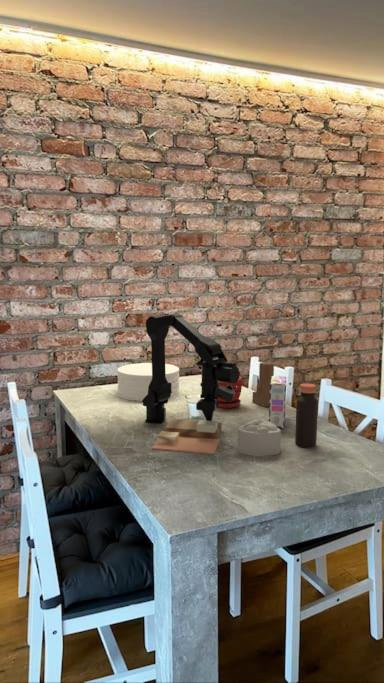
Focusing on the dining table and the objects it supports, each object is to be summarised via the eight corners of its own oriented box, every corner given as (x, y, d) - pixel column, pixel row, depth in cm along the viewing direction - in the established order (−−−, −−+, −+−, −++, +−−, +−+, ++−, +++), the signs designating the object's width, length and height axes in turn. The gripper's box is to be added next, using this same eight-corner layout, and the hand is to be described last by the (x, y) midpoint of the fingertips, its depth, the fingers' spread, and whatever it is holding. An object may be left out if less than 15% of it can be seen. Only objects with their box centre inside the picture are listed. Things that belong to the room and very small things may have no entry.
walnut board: (165, 436, 172) (165, 427, 172) (172, 426, 182) (172, 418, 181) (217, 439, 168) (217, 431, 168) (221, 430, 178) (221, 422, 178)
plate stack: (145, 383, 249) (145, 360, 248) (191, 391, 233) (191, 367, 232) (104, 394, 227) (104, 370, 225) (152, 405, 211) (152, 378, 209)
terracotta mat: (152, 449, 160) (152, 447, 160) (162, 436, 172) (162, 434, 172) (214, 454, 156) (214, 452, 156) (219, 440, 168) (220, 439, 168)
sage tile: (197, 431, 168) (197, 424, 167) (200, 426, 173) (200, 419, 172) (214, 432, 166) (214, 425, 166) (217, 428, 171) (217, 421, 171)
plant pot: (233, 399, 219) (234, 373, 217) (246, 408, 207) (247, 379, 205) (205, 402, 215) (206, 374, 213) (216, 410, 202) (217, 381, 201)
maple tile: (162, 431, 168) (162, 438, 168) (157, 435, 163) (157, 443, 164) (179, 432, 167) (179, 439, 167) (175, 437, 162) (175, 444, 162)
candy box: (284, 428, 181) (286, 384, 178) (268, 427, 182) (269, 383, 179) (285, 417, 194) (286, 375, 192) (270, 416, 195) (271, 375, 193)
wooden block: (252, 402, 216) (253, 360, 213) (260, 400, 218) (261, 360, 215) (264, 407, 208) (265, 364, 205) (273, 406, 210) (274, 363, 207)
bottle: (290, 442, 166) (293, 383, 163) (307, 439, 169) (310, 381, 166) (303, 449, 160) (305, 388, 157) (320, 446, 163) (323, 386, 160)
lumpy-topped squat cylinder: (283, 454, 156) (284, 427, 155) (242, 457, 154) (243, 429, 152) (271, 442, 166) (272, 417, 165) (233, 445, 164) (234, 419, 162)
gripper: (230, 386, 160) (229, 433, 162) (236, 374, 178) (235, 416, 180) (195, 385, 162) (195, 431, 164) (205, 373, 180) (205, 415, 182)
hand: (209, 423), depth 173 cm, fingers closed
